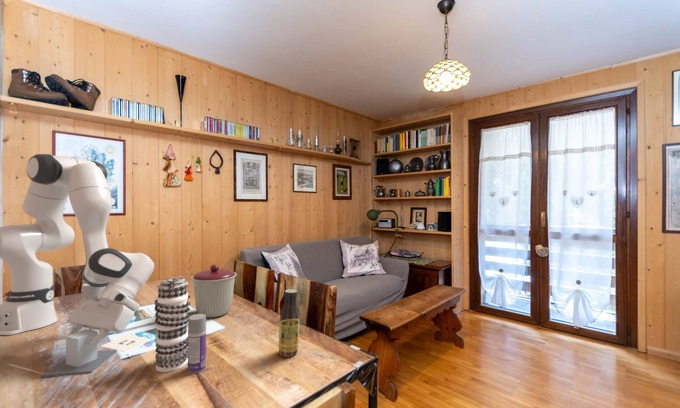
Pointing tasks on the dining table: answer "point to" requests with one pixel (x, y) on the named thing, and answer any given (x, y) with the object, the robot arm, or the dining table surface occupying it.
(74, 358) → the grey blue block
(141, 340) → the card
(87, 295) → the chalice
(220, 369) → the dining table surface
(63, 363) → the slate coaster
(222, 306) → the canister
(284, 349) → the sauce bottle
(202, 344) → the container
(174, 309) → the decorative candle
